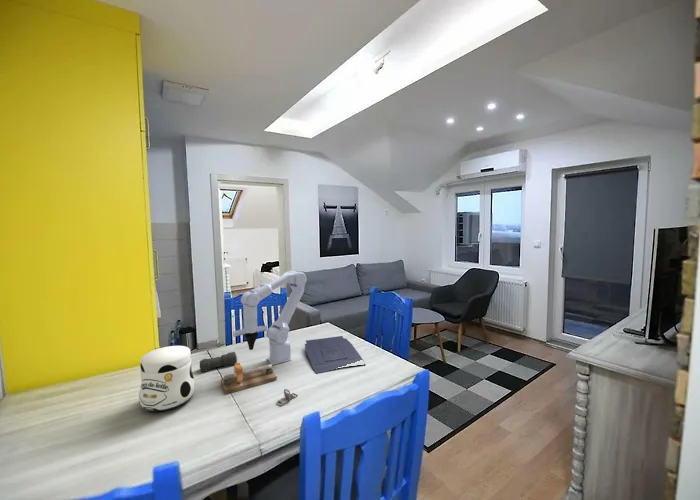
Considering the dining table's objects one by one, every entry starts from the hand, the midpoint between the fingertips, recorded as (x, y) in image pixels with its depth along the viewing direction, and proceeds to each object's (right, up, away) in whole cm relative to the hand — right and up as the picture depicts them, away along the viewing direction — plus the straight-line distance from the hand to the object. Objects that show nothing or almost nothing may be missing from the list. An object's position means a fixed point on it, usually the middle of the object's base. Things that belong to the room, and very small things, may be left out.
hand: (251, 349), depth 133 cm
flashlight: (-16, -10, +3) cm, 19 cm away
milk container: (-22, -11, -24) cm, 35 cm away
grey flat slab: (+35, -9, +15) cm, 39 cm away
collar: (-1, -8, -12) cm, 14 cm away
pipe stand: (+2, -10, -10) cm, 14 cm away
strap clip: (+21, -12, -23) cm, 33 cm away
